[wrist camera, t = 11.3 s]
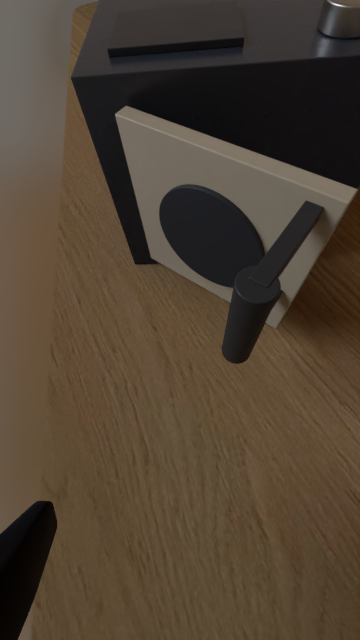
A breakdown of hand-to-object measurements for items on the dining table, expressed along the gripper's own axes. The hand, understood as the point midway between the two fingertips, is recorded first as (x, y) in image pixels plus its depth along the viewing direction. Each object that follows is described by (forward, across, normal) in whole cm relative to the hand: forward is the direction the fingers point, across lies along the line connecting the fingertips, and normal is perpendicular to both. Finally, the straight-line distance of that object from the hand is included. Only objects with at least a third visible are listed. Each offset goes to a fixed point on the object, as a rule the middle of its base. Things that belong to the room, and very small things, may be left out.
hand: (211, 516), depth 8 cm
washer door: (+13, +1, -2) cm, 13 cm away
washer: (+23, -2, -10) cm, 25 cm away
